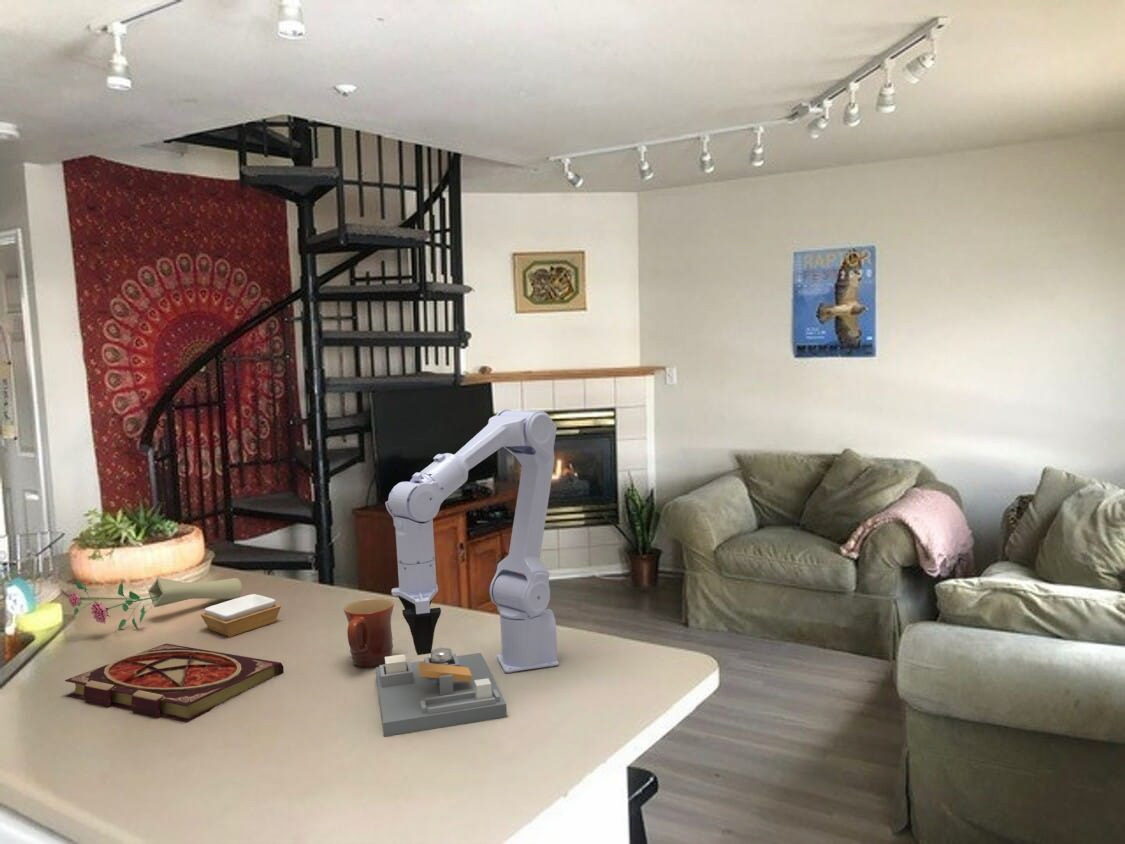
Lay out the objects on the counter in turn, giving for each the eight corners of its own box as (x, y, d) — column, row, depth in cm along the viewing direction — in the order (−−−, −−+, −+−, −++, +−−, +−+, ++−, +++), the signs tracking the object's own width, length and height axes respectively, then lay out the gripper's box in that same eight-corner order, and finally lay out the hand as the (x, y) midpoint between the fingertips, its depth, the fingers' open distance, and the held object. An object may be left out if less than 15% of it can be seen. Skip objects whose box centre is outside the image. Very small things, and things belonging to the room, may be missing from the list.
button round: (450, 657, 140) (450, 646, 140) (453, 664, 137) (452, 653, 136) (430, 659, 139) (429, 649, 139) (432, 667, 136) (432, 656, 136)
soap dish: (256, 614, 180) (255, 591, 179) (282, 622, 173) (281, 599, 173) (201, 631, 170) (199, 607, 169) (226, 641, 164) (224, 616, 163)
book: (284, 679, 146) (282, 651, 145) (183, 728, 127) (181, 696, 126) (169, 659, 158) (167, 633, 157) (61, 701, 139) (59, 671, 138)
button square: (405, 664, 137) (404, 654, 137) (406, 671, 134) (406, 661, 134) (385, 667, 137) (384, 656, 136) (386, 674, 133) (385, 663, 133)
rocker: (466, 675, 134) (468, 667, 134) (470, 684, 130) (472, 676, 130) (417, 670, 132) (418, 661, 132) (419, 679, 128) (421, 670, 128)
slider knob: (489, 695, 128) (488, 678, 127) (491, 701, 125) (491, 683, 125) (475, 698, 127) (474, 680, 127) (477, 703, 125) (476, 685, 125)
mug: (360, 651, 154) (356, 597, 153) (404, 653, 153) (401, 598, 152) (329, 677, 143) (325, 619, 142) (377, 679, 141) (373, 620, 140)
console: (481, 663, 146) (480, 636, 145) (506, 716, 125) (505, 684, 124) (376, 678, 141) (374, 650, 141) (384, 736, 120) (382, 702, 120)
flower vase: (238, 635, 189) (78, 651, 160) (210, 611, 196) (52, 622, 167) (254, 587, 188) (96, 594, 159) (225, 564, 195) (68, 567, 166)
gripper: (387, 551, 135) (392, 633, 136) (392, 574, 121) (398, 665, 122) (431, 546, 136) (435, 627, 138) (441, 569, 122) (446, 658, 124)
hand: (421, 645), depth 130 cm, fingers open, 7 cm apart
